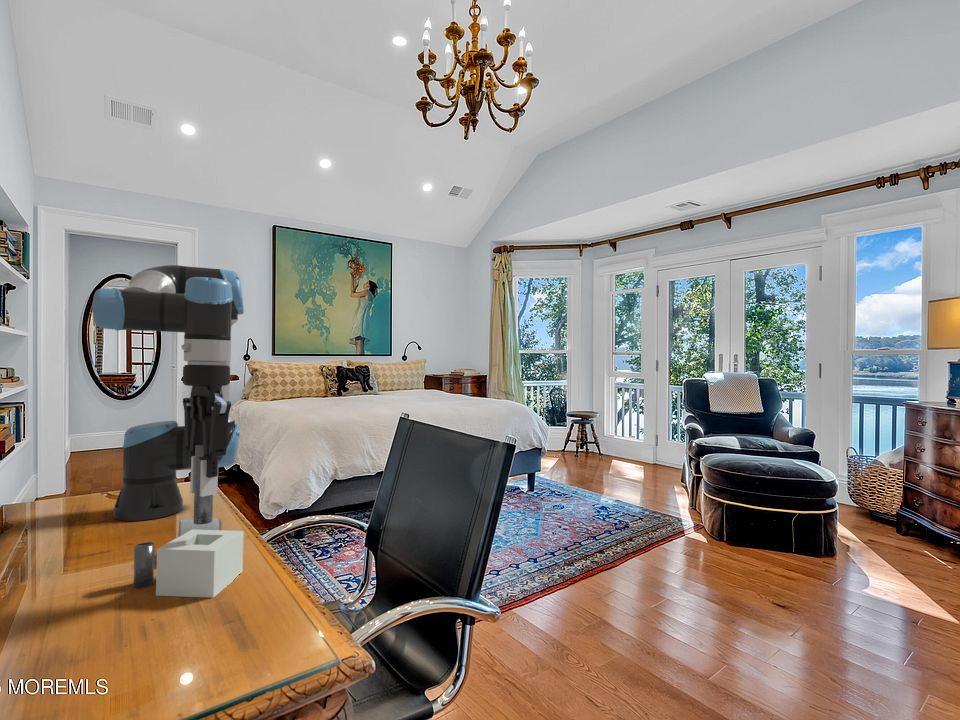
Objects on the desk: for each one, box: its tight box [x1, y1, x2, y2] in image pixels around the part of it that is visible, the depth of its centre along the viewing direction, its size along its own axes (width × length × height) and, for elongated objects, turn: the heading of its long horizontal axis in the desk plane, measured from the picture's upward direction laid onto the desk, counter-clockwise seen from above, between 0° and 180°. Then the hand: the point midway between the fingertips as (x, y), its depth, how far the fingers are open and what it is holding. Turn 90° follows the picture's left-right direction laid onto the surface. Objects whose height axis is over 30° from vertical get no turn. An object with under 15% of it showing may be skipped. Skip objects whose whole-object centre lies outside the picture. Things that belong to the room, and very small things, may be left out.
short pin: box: [132, 541, 156, 589], centre depth 89 cm, size 3×3×7 cm
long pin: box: [193, 443, 214, 524], centre depth 90 cm, size 3×3×14 cm
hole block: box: [155, 529, 245, 599], centre depth 90 cm, size 10×10×8 cm
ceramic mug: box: [177, 517, 224, 538], centre depth 105 cm, size 11×8×8 cm
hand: (203, 492), depth 90 cm, fingers closed on long pin, 3 cm apart
